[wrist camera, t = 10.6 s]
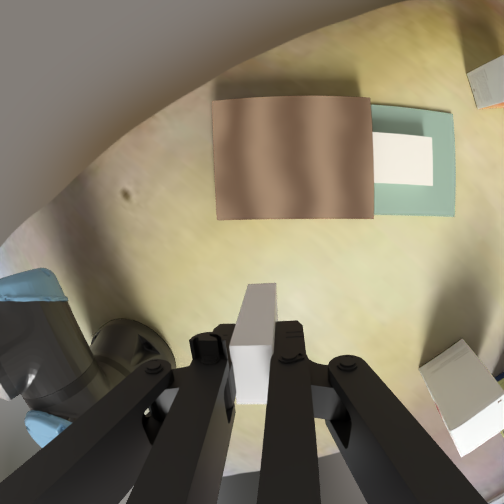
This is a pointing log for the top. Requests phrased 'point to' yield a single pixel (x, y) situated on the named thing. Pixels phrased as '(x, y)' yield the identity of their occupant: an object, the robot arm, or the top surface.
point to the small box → (488, 84)
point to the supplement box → (465, 396)
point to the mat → (444, 171)
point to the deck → (293, 158)
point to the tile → (402, 159)
